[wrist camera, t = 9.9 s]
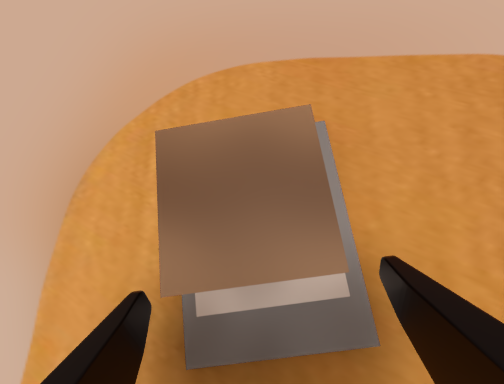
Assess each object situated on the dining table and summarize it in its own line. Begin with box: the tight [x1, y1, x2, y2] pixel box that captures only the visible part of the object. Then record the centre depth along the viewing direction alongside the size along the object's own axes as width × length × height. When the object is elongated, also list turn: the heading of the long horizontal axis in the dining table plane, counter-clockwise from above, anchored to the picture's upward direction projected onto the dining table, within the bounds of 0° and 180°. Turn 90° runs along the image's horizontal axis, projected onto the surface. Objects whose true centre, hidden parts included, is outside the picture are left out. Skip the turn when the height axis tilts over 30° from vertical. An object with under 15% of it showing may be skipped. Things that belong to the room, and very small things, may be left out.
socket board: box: [182, 121, 380, 370], centre depth 19 cm, size 18×14×4 cm
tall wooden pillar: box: [155, 104, 349, 297], centre depth 13 cm, size 5×5×13 cm
